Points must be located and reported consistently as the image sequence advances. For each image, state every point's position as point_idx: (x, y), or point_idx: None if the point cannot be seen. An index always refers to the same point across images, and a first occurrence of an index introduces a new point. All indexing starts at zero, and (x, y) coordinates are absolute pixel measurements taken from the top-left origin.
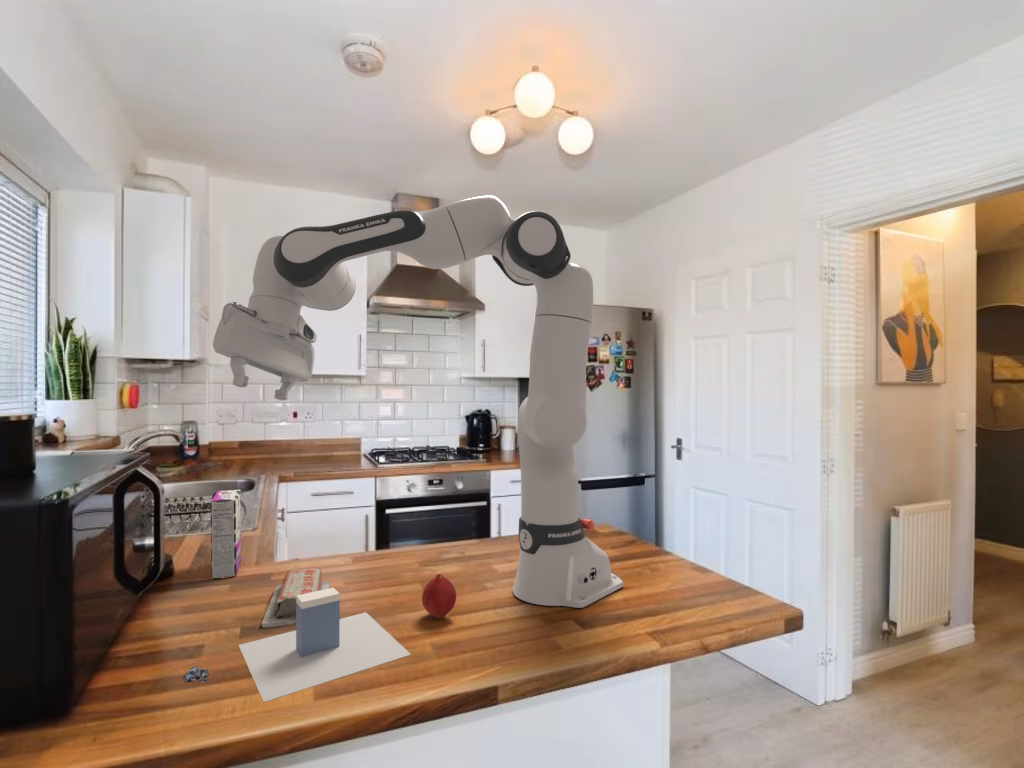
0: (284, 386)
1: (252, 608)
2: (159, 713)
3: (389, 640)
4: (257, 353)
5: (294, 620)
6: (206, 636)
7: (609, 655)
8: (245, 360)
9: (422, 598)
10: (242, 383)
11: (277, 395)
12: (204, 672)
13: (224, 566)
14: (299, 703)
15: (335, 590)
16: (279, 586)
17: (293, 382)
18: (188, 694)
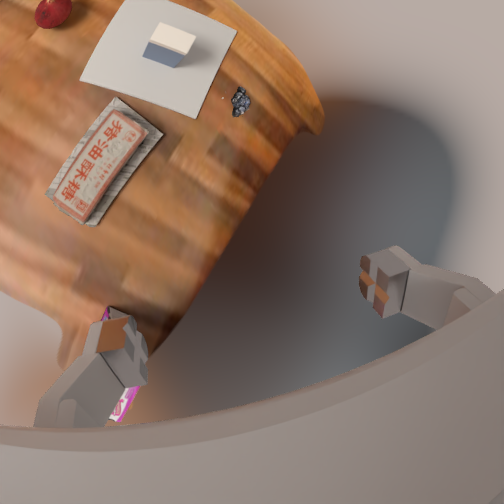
0: (98, 398)
1: (136, 196)
2: (274, 83)
3: (119, 16)
4: (490, 348)
5: (136, 117)
6: (198, 167)
7: None
8: (473, 305)
9: (64, 17)
10: (389, 248)
11: (140, 345)
12: (237, 98)
13: (119, 316)
14: (222, 14)
15: (155, 31)
16: (92, 223)
17: (46, 404)
18: (254, 86)
